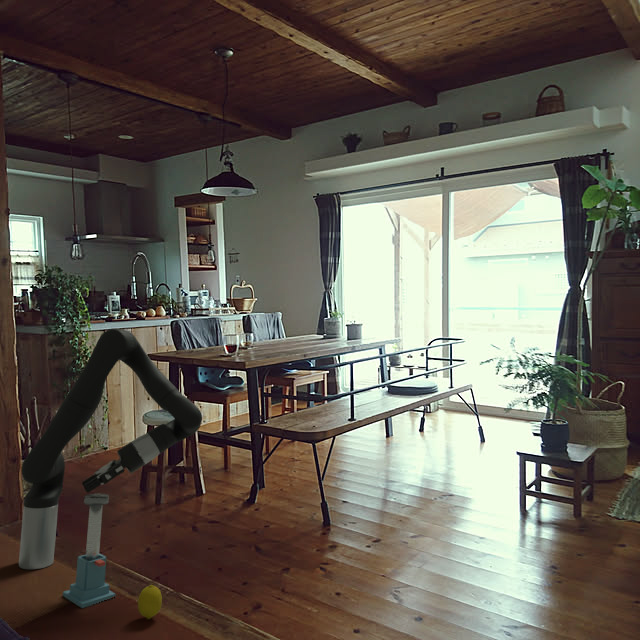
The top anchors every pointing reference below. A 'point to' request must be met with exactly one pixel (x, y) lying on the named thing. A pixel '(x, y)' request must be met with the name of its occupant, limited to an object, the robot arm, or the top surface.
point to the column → (94, 524)
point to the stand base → (89, 583)
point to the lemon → (149, 601)
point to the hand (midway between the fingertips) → (84, 487)
